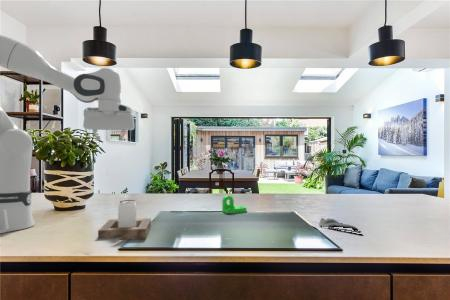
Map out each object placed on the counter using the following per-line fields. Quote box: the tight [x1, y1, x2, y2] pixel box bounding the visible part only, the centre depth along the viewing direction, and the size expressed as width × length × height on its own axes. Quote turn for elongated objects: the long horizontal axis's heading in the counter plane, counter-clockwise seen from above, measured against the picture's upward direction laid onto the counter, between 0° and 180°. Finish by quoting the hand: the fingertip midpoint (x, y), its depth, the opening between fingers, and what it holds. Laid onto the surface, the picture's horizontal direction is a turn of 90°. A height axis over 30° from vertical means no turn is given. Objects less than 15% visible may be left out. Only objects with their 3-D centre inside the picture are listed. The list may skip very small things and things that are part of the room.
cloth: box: [318, 217, 360, 233], centre depth 124 cm, size 26×14×2 cm, turn 3°
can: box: [117, 199, 137, 228], centre depth 111 cm, size 6×6×12 cm
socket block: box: [97, 217, 152, 241], centre depth 110 cm, size 16×16×4 cm
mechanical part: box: [221, 195, 247, 214], centre depth 151 cm, size 12×6×8 cm, turn 117°
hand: (109, 140), depth 125 cm, fingers open, 8 cm apart
